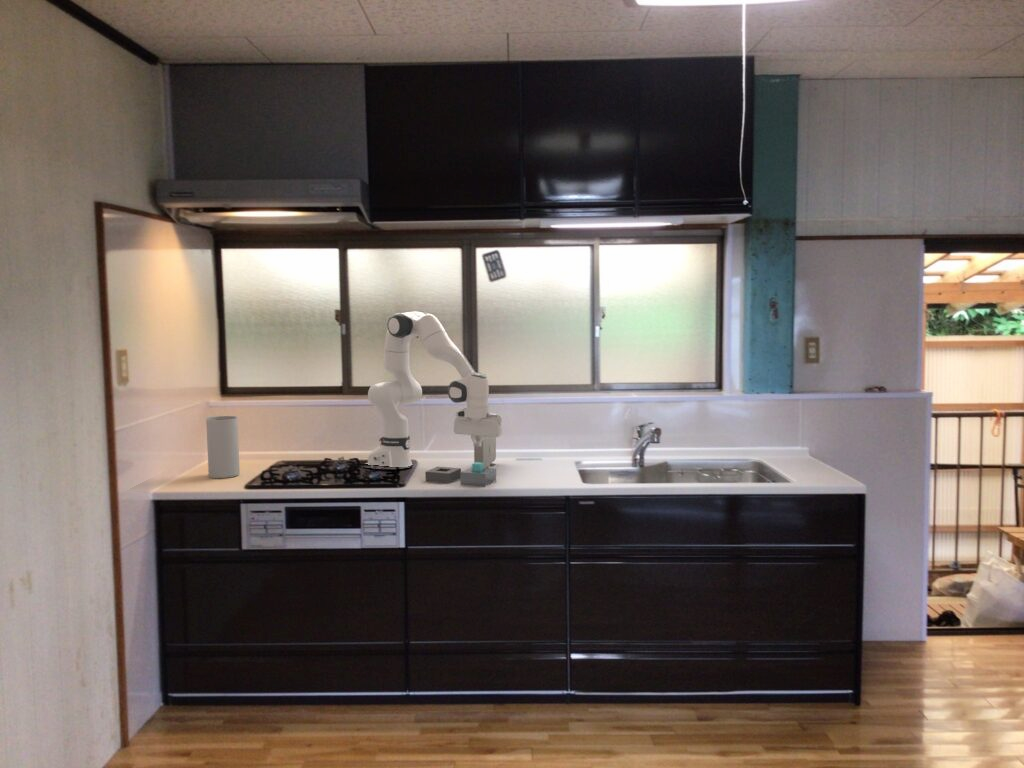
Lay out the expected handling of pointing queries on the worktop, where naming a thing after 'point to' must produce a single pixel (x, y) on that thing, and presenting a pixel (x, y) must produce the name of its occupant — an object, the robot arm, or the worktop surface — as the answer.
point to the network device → (486, 452)
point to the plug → (478, 467)
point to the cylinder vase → (223, 446)
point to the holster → (443, 474)
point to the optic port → (478, 477)
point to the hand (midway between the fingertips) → (477, 446)
